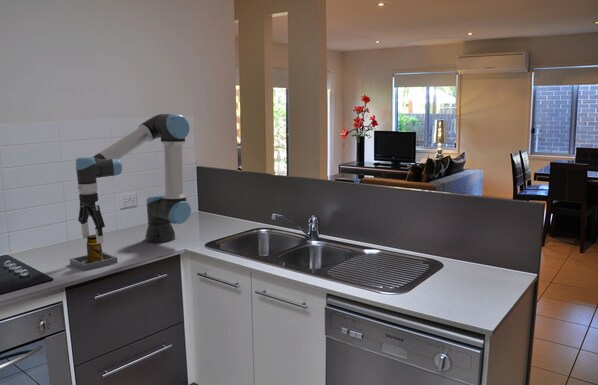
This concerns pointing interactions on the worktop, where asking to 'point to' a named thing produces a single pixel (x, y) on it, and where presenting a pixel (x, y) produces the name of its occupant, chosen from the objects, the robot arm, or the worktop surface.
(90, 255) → the condiment
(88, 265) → the tray
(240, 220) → the worktop surface
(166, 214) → the robot arm
